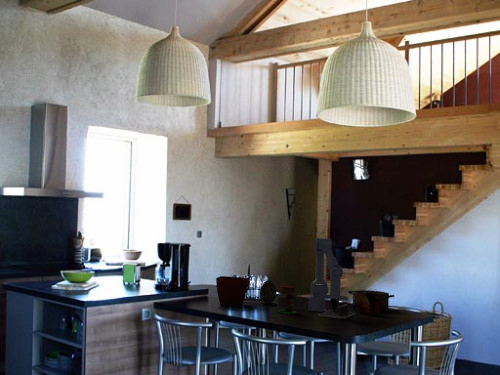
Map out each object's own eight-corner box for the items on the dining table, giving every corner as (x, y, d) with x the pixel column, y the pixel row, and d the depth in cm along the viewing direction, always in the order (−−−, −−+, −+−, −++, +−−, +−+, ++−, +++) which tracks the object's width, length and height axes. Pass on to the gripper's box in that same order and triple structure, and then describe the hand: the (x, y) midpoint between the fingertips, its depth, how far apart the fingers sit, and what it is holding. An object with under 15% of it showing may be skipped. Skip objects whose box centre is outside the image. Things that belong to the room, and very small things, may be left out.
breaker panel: (318, 316, 363) (318, 312, 364) (330, 311, 383) (330, 308, 383) (345, 318, 357) (345, 315, 357) (356, 314, 376) (356, 310, 377)
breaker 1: (338, 313, 368) (338, 306, 368) (340, 312, 371) (340, 305, 372) (342, 313, 367) (342, 306, 367) (344, 313, 370) (344, 305, 370)
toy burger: (301, 312, 374) (302, 287, 375) (290, 314, 364) (292, 288, 365) (284, 310, 381) (285, 285, 382) (273, 312, 371) (274, 286, 371)
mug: (378, 316, 372) (379, 295, 373) (356, 313, 380) (357, 293, 380) (384, 314, 380) (385, 294, 380) (363, 312, 388) (363, 292, 388)
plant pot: (249, 304, 402) (250, 277, 403) (245, 308, 383) (247, 280, 384) (219, 302, 404) (220, 275, 405) (214, 306, 385) (215, 278, 386)
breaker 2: (342, 312, 374) (342, 304, 374) (344, 311, 378) (344, 304, 378) (346, 312, 373) (346, 305, 373) (348, 311, 377) (348, 304, 377)
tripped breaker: (335, 314, 361) (335, 307, 362) (337, 314, 365) (337, 306, 365) (339, 315, 360) (339, 307, 360) (341, 314, 364) (341, 307, 364)
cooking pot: (340, 308, 401) (341, 291, 402) (355, 305, 420) (356, 288, 420) (386, 314, 385) (386, 296, 385) (399, 310, 403) (400, 293, 404)
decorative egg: (270, 305, 401) (271, 281, 402) (256, 303, 407) (257, 279, 407) (279, 303, 410) (280, 280, 411) (264, 301, 416) (265, 278, 417)
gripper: (321, 287, 364) (320, 311, 363) (345, 289, 358) (344, 314, 357) (324, 286, 370) (324, 310, 369) (349, 288, 364) (348, 312, 363)
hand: (334, 311), depth 364 cm, fingers closed
